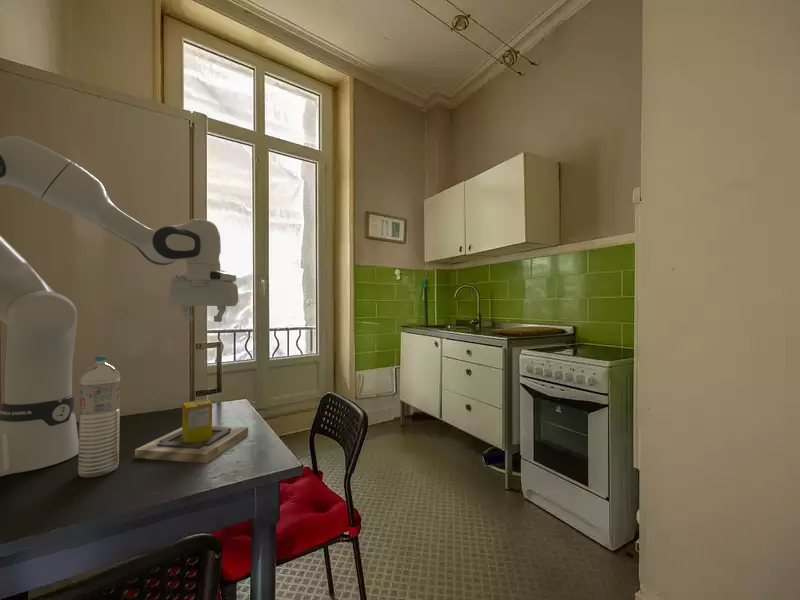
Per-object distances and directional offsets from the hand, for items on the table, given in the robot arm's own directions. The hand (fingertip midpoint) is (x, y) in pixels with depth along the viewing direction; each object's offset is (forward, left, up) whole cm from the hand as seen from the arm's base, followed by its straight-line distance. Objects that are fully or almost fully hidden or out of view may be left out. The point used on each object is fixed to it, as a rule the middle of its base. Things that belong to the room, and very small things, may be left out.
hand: (203, 321), depth 107 cm
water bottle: (-3, -29, -31) cm, 43 cm away
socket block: (+8, -13, -31) cm, 35 cm away
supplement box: (+8, -13, -31) cm, 35 cm away
